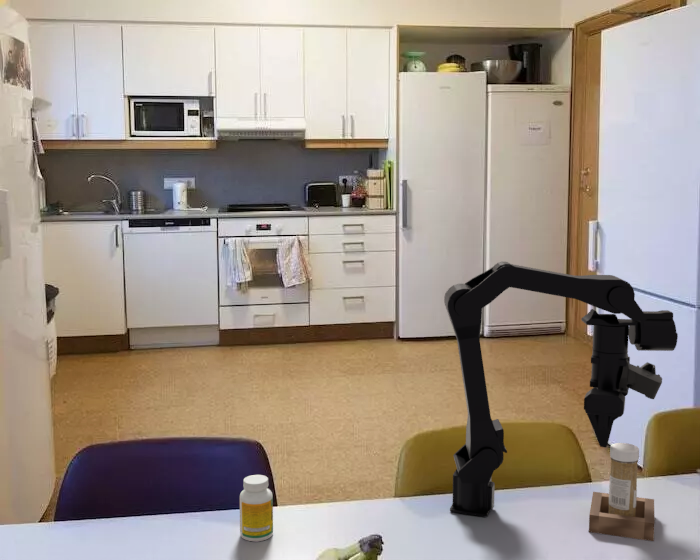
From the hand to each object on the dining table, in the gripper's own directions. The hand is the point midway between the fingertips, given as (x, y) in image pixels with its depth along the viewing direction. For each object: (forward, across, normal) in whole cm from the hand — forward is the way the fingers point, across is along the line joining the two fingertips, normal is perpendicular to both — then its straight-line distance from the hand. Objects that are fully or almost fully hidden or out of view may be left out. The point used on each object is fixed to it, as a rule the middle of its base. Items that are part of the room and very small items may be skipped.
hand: (605, 438), depth 141 cm
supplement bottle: (+14, -31, +52) cm, 62 cm away
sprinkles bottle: (+13, -5, -4) cm, 14 cm away
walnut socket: (+13, -5, -4) cm, 14 cm away
